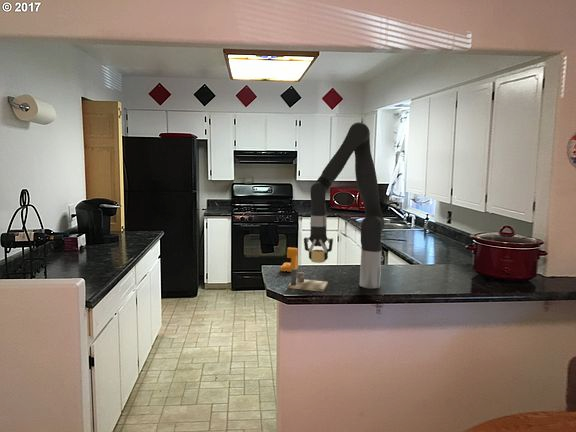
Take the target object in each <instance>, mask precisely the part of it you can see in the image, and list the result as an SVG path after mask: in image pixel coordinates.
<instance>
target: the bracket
mask: <svg viewBox="0 0 576 432" xmlns="http://www.w3.org/2000/svg"><path fill="white" fill-rule="evenodd" d="M286 257H287V259H290V262H283V264H282V265H281V266H280V272H286V271H287V273H288V272H290V273H291V269H296V270H297V271H298V268H299V249H298V248H297V247H290V246H289V247H287V250H286Z"/></svg>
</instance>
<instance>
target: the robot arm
mask: <svg viewBox="0 0 576 432" xmlns="http://www.w3.org/2000/svg"><path fill="white" fill-rule="evenodd" d="M370 137H371V132H370V129H369V127H368V125H367V124H366V123H365V122H361V121H359V122H358V121H357V122H355V123H352V124H351V126H350V127H349V129H348V131H347V133H346V136H345V137H344V140H343V142H342V143H341V145H340V146H339V148H338V150H337V151H336V152H335V154H334V155H333V156H332V157H331V159H330V160H329V161H328V163H327V164H326V166H325V167H324V169H323V170H322V172H321V175H320V176H318V178H317V179H316V181H315V182H314V183H313V184H312V185H311V187H310V203H311V207H310V222H309V224H310V231H309V232H310V236H309V237H306V236H305V237H304V238H303V245H304V250H305V251H306V252H308V259H309V260H310V261H311V251H312V250H314V247H321V248H322V250H324V251H325V253H324V260H325V261H327V260H328V259H329V255H328V254H329V252H331V251H333V244H334V238H328V237H327V236H328V235H327V223H328V222H327V205H326V193H327V192H328V191H329V189H330V188H331V186H332V184H333V182H335V180H337V178H338V177H339V175H340V174H341V172H342V171H343V169H344V168H345V166H346V164H347V163H348V160H349V159H350V158H351V156H352V154H354V160H355V161H354V168H355V169H354V171H355V180H356V181H355V182H356V187H357V191H358V193H359V195H360V198H361V201H362V203H363V206H364V211H365V213H364V214H365V217H364V218H363V219H362V221H361V227H360V246H361V248H360V249H361V251H360V252H361V253H360V268H359V270H360V271H359V286H360V287H362V288H364V289H380V287H381V272H382V271H381V270H382V251H383V244H382V243H381V241H382V235H381V234H382V231H383V230H384V229H385V224H386V222H385V219H384V215H383V212H382V208H381V204H380V203H381V202H380V195H379V193H380V192H379V184H378V179H377V178H378V177H377V173H376V168H375V163H374V161H373V159H374V158H373V156H372V153H371V138H370ZM309 241H310V242H311V244H310V247H309ZM327 242H328V243H329V245H328V247H327V245H326V243H327Z"/></svg>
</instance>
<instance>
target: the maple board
mask: <svg viewBox="0 0 576 432" xmlns="http://www.w3.org/2000/svg"><path fill="white" fill-rule="evenodd" d="M297 271H298V269H297V270H296V269H291V272H290V282H289V283H288V285H287V289H293V290H294V289H295V290H296V289H297V290H302V291H303V290H304V291H314V292H322V293H323V292H324V291H325V289H326V288H327V286H328V284H329V283H328V282H329V281H325V280H313V279H305V272H303V271H299V272H297Z"/></svg>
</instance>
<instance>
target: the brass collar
mask: <svg viewBox="0 0 576 432" xmlns="http://www.w3.org/2000/svg"><path fill="white" fill-rule="evenodd" d="M324 253H325V251H324V249H318V248H317V249H312V251H311V260H310V261H311V262H312V263H316V264H317V263H318V264H321V263H325V262H326V260H324Z"/></svg>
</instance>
